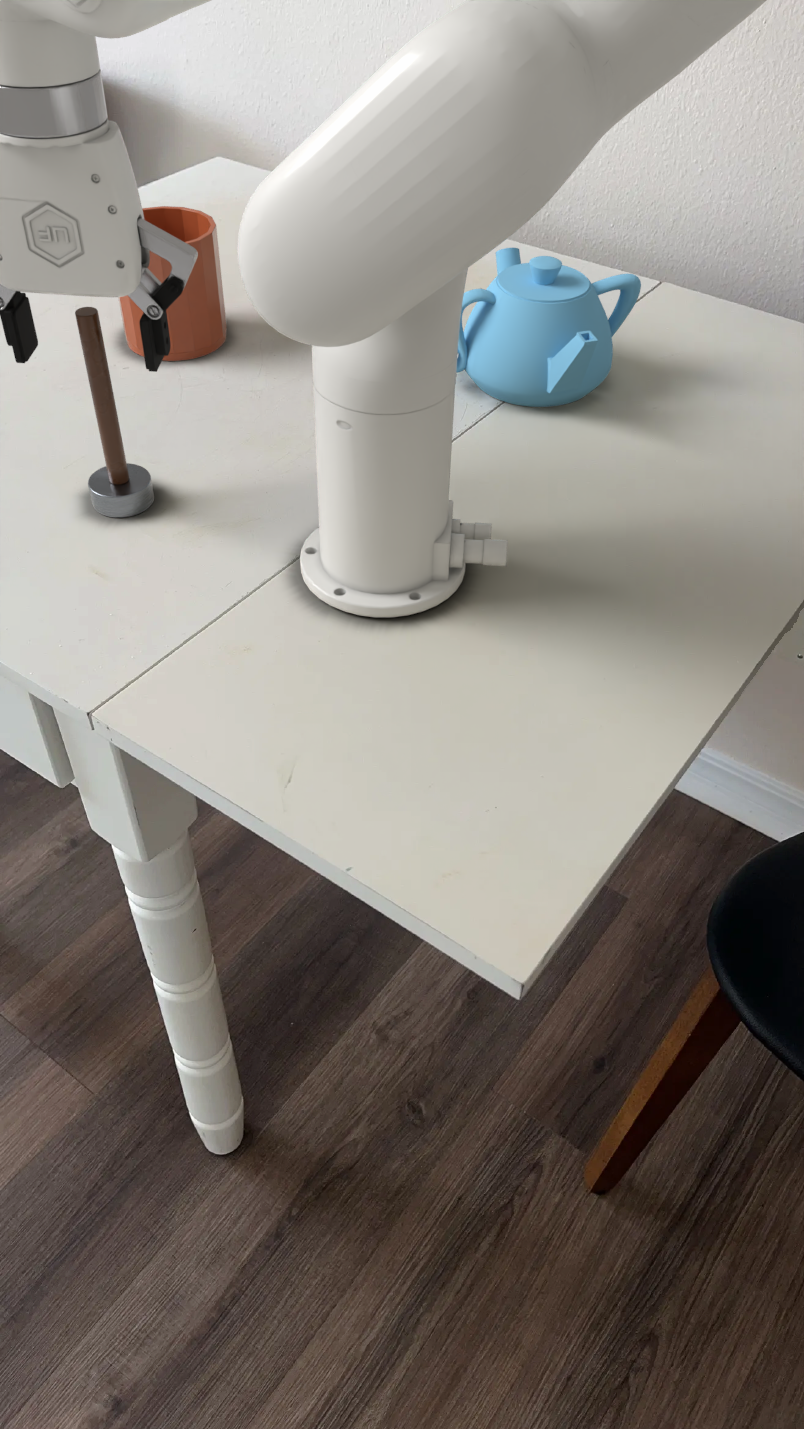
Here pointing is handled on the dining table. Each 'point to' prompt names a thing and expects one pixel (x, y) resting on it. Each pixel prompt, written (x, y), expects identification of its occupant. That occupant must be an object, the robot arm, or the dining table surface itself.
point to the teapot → (541, 331)
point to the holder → (201, 302)
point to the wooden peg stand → (110, 433)
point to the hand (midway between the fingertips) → (92, 358)
